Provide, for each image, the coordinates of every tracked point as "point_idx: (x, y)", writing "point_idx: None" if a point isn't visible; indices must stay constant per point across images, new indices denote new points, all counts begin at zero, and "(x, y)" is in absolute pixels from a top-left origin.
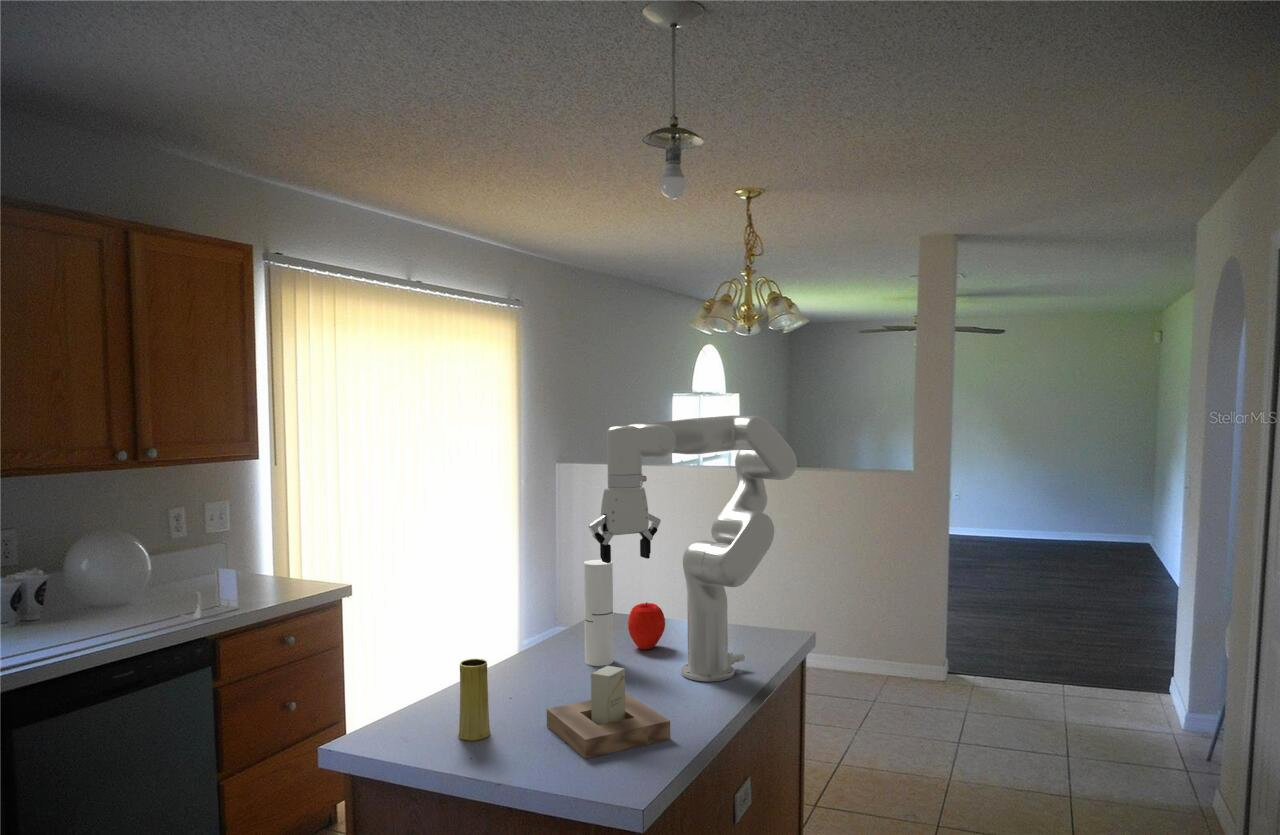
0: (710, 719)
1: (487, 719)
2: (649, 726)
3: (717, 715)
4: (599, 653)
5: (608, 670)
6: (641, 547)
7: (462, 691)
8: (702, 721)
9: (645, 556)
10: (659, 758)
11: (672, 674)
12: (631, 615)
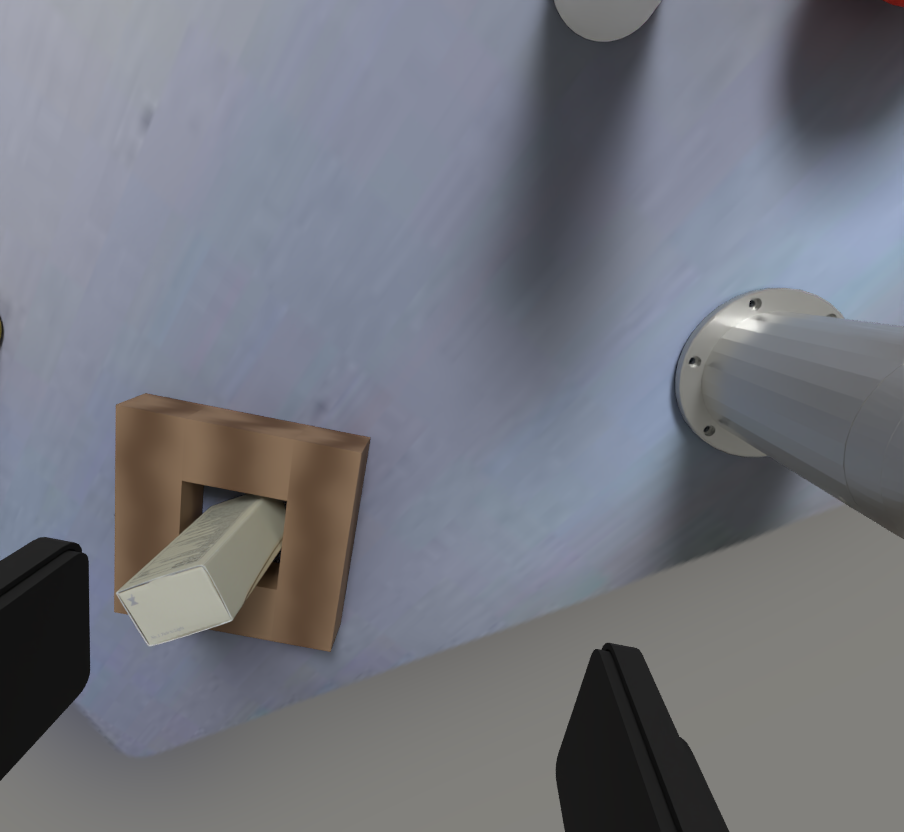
0: (485, 606)
1: None
2: (276, 640)
3: (515, 600)
4: (582, 5)
5: (177, 605)
6: (621, 784)
7: None
8: (462, 602)
9: (565, 760)
10: (265, 668)
11: (680, 299)
12: None
